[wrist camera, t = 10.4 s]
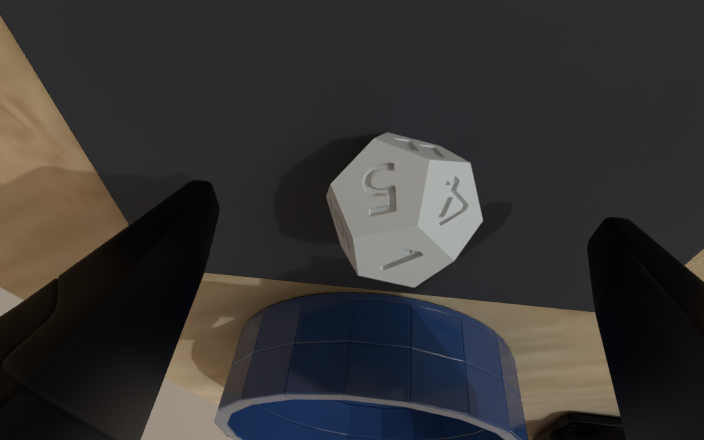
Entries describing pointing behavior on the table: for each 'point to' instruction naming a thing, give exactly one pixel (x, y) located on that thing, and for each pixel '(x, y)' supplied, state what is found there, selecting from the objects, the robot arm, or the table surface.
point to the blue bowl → (370, 374)
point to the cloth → (390, 122)
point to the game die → (404, 209)
